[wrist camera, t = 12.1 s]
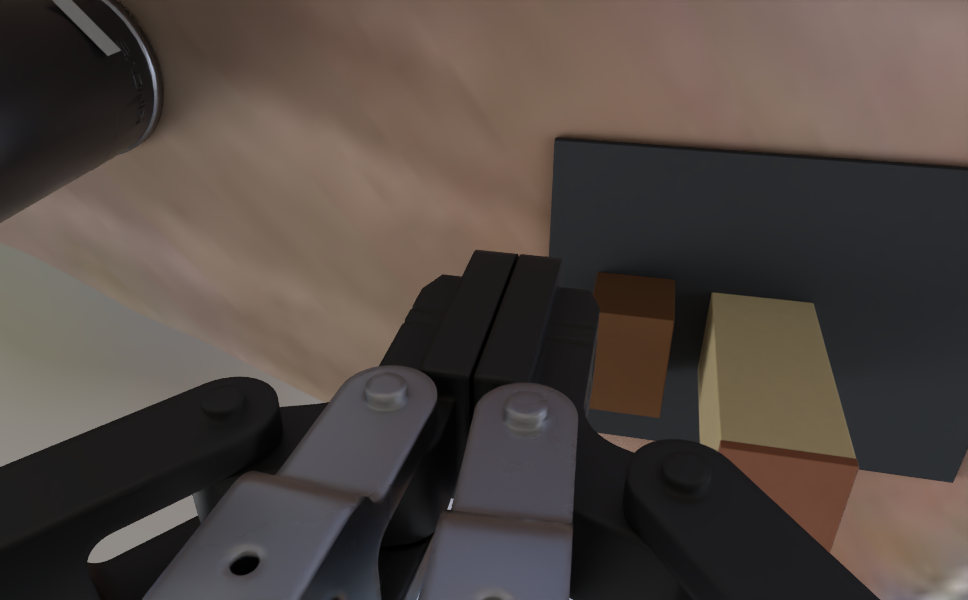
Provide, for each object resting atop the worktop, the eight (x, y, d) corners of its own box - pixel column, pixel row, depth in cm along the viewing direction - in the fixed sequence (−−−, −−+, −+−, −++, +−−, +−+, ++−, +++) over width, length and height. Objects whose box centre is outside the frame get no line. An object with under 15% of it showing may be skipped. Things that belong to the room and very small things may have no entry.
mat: (541, 420, 47) (530, 470, 43) (555, 137, 38) (542, 170, 34) (951, 477, 43) (976, 538, 39) (1081, 175, 34) (1130, 218, 30)
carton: (610, 382, 41) (726, 578, 31) (618, 302, 39) (748, 486, 28) (771, 359, 43) (935, 536, 32) (790, 281, 41) (974, 446, 30)
